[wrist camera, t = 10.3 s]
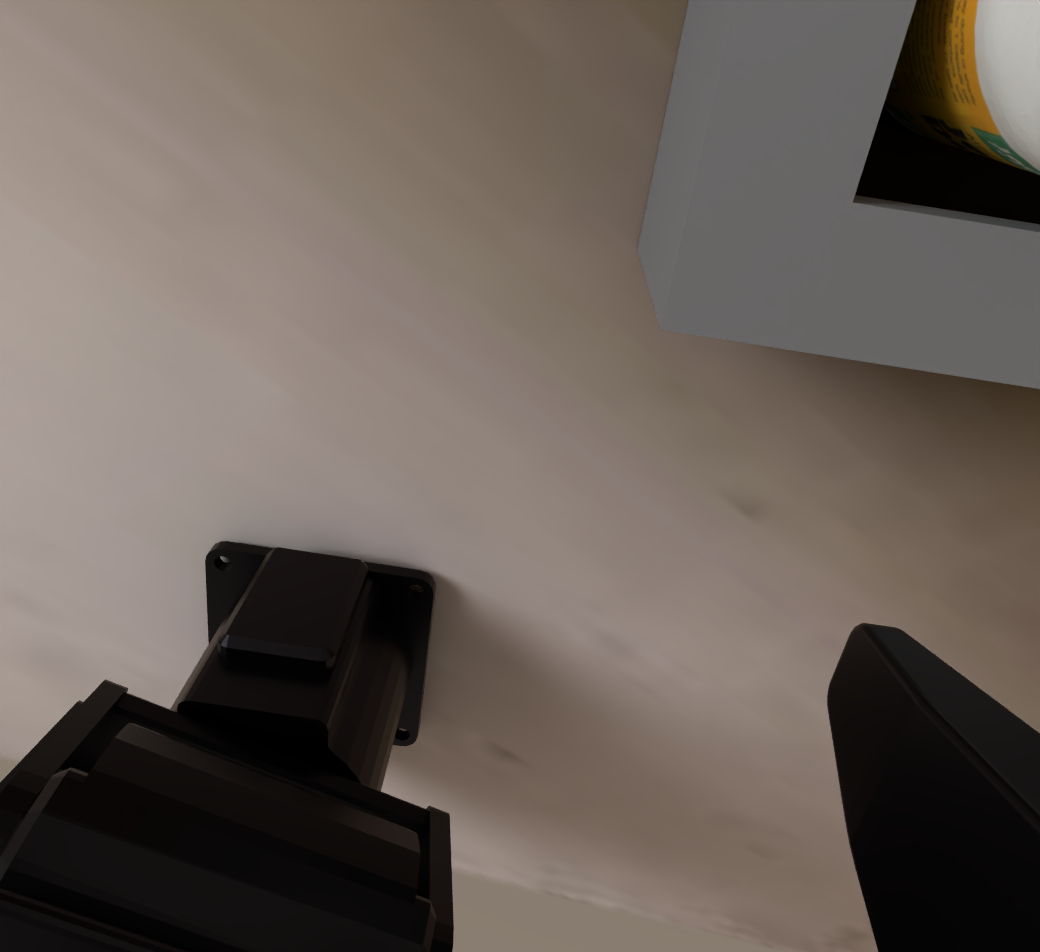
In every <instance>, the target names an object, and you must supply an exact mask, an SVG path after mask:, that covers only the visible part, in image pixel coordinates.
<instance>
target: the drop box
mask: <svg viewBox="0 0 1040 952" xmlns="http://www.w3.org/2000/svg"><path fill="white" fill-rule="evenodd" d="M916 1H917V0H689V1H688V6H687V11H686V16H685V20H684V25H683V30H682V35H681V40H680V45H679V50H678V54H677V59H676V64H675V69H674V74H673V79H672V84H671V88H670V93H669V98H668V103H667V108H666V113H665V118H664V122H663V127H662V132H661V137H660V142H659V147H658V152H657V156H656V161H655V166H654V171H653V176H652V181H651V186H650V190H649V195H648V200H647V205H646V210H645V215H644V220H643V224H642V229H641V234H640V239H639V244H638V249H637V250H638V254H639V257H640V261H641V264H642V268H643V271H644V274H645V278H646V281H647V285H648V288H649V292H650V295H651V299H652V302H653V305H654V309H655V312H656V316H657V319H658V323H659V326H660V330H663V331H670V332H676V333H683V334H689V335H695V336H702V337H708V338H715V339H721V340H728V341H734V342H741V343H747V344H753V345H760V346H766V347H773V348H779V349H786V350H792V351H798V352H805V353H811V354H818V355H824V356H831V357H837V358H843V359H850V360H856V361H863V362H869V363H876V364H882V365H888V366H895V367H901V368H908V369H914V370H921V371H927V372H933V373H940V374H946V375H953V376H959V377H966V378H972V379H979V380H985V381H991V382H998V383H1004V384H1011V385H1017V386H1024V387H1030V388H1036V389H1040V224H1034V223H1028V222H1021V221H1015V220H1009V219H1002V218H996V217H990V216H984V215H977V214H971V213H965V212H958V211H952V210H946V209H939V208H933V207H927V206H921V205H914V204H908V203H902V202H895V201H889V200H883V199H876V198H870V197H864V196H857V195H855V193H856V190H857V187H858V184H859V180H860V177H861V174H862V171H863V168H864V165H865V162H866V158H867V155H868V152H869V149H870V146H871V143H872V140H873V136H874V133H875V130H876V127H877V124H878V121H879V117H880V114H881V111H882V108H883V105H884V102H885V99H886V95H887V92H888V89H889V86H890V83H891V80H892V77H893V73H894V70H895V67H896V64H897V61H898V58H899V54H900V51H901V48H902V45H903V42H904V39H905V36H906V32H907V29H908V26H909V23H910V20H911V17H912V13H913V10H914V7H915V4H916Z"/></svg>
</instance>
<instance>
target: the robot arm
mask: <svg viewBox="0 0 1040 952" xmlns="http://www.w3.org/2000/svg"><path fill="white" fill-rule="evenodd" d="M220 556H224V557H226V558H228V559H229V560H230V561H231V563H226V562H223V561H222V560H221V559H220ZM205 565H206V589H207V613H208V637H209V645H208V647H207V648H206V650H205V652H204V653H203V655H202V657H201V658H200V660H199V662H198V664H197V665H196V667H195V669H194V670H193V672H192V674H191V675H190V677H189V679H188V680H187V682H186V684H185V685H184V687H183V689H182V690H181V692H180V694H179V695H178V697H177V699H176V700H175V702H174V704H173V705H172V707H171V709H167V708H165V707H162V706H160V705H157V704H154V703H152V702H149V701H147V700H144V699H142V698H139V697H136V696H134V695H131V694H129V693H127V691H128V688H126V687H123V686H121V685H118V684H116V683H113V682H111V681H108V680H104V681H103V682H102V683H101V684H100V685H99V686H98V688H97V689H96V690H95V691H94V692H93V693H92V694H91V695H90V696H89V697H88V698H87V699H86V700H85V701H84V702H82V701H78V702H77V703H76V704H75V705H74V706H73V707H72V708H71V709H70V710H69V711H68V712H67V713H66V714H65V715H64V716H63V717H62V718H61V720H60V721H59V722H58V723H57V724H56V725H55V726H54V727H53V728H52V729H51V730H50V731H49V732H48V733H47V734H46V735H45V736H44V737H43V738H42V739H41V740H40V741H39V743H38V744H37V745H36V746H35V747H34V748H33V749H32V750H31V751H30V752H29V753H28V754H27V755H26V756H25V757H24V758H23V759H22V760H21V761H20V762H19V763H18V765H17V766H16V767H15V768H14V769H13V770H12V771H11V772H10V773H9V774H8V775H7V776H6V777H5V778H4V779H3V780H2V781H1V782H0V952H452V949H453V930H454V929H453V928H454V925H453V900H452V899H453V897H452V869H451V841H450V815H449V813H446V812H444V811H441V810H439V809H436V808H433V807H431V806H428V807H427V809H424V808H422V807H419V806H417V805H414V804H411V803H409V802H406V801H404V800H401V799H399V798H396V797H393V796H391V795H388V794H386V793H383V792H381V789H382V785H383V781H384V777H385V773H386V769H387V765H388V761H389V757H390V753H391V749H392V745H398V746H408V745H411V744H413V743H414V742H415V741H416V739H417V736H418V732H419V727H420V719H421V710H422V702H423V693H424V684H425V676H426V667H427V658H428V650H429V641H430V632H431V624H432V615H433V606H434V598H435V589H436V585H435V581H434V579H433V577H432V576H431V575H429V574H428V573H427V572H424V571H421V570H415V569H408V568H402V567H395V566H388V565H382V564H375V563H368V562H362V561H361V560H358V559H351V558H345V557H338V556H331V555H325V554H318V553H311V552H305V551H298V550H291V549H285V548H268V547H262V546H255V545H249V544H242V543H235V542H229V541H221V542H219V543H216V544H215V545H214V546H213V547H212V549H211V550H210V551H209V553H208V554H207V556H206V560H205ZM413 585H418V586H420V587H422V588H423V589H424V591H422V592H417V591H414V590H413V589H412V588H411V586H413ZM827 706H828V713H829V720H830V726H831V733H832V739H833V746H834V752H835V758H836V765H837V771H838V778H839V784H840V791H841V797H842V803H843V810H844V816H845V822H846V828H847V833H848V838H849V844H850V848H851V852H852V856H853V860H854V864H855V868H856V872H857V875H858V879H859V883H860V886H861V890H862V894H863V897H864V901H865V905H866V908H867V912H868V916H869V919H870V923H871V927H872V930H873V934H874V938H875V941H876V945H877V948H878V952H1040V733H1038V732H1037V731H1036V730H1034V729H1033V728H1032V727H1030V726H1029V725H1028V724H1026V723H1025V722H1024V721H1022V720H1021V719H1020V718H1018V717H1017V716H1016V715H1014V714H1013V713H1012V712H1010V711H1009V710H1008V709H1006V708H1005V707H1004V706H1002V705H1001V704H1000V703H998V702H997V701H996V700H994V699H993V698H992V697H990V696H989V695H988V694H986V693H985V692H984V691H982V690H981V689H980V688H978V687H977V686H976V685H974V684H973V683H972V682H970V681H969V680H968V679H966V678H965V677H964V676H962V675H961V674H960V673H958V672H957V671H956V670H954V669H953V668H952V667H950V666H949V665H948V664H946V663H945V662H944V661H942V660H941V659H940V658H938V657H937V656H936V655H934V654H933V653H932V652H930V651H929V650H928V649H926V648H925V647H924V646H922V645H921V644H920V643H918V642H917V641H916V640H914V639H913V638H912V637H910V636H909V635H908V634H906V633H905V632H904V631H902V630H901V629H898V628H895V627H888V626H881V625H874V624H867V623H862V624H860V625H857V626H856V627H855V628H854V629H853V630H852V632H851V633H850V635H849V638H848V640H847V642H846V645H845V647H844V650H843V652H842V655H841V657H840V659H839V662H838V664H837V667H836V669H835V672H834V674H833V676H832V679H831V681H830V684H829V689H828V695H827ZM398 728H403V729H406V730H407V731H402V730H399V729H398Z"/></svg>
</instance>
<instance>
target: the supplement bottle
mask: <svg viewBox="0 0 1040 952" xmlns="http://www.w3.org/2000/svg"><path fill="white" fill-rule="evenodd" d="M883 107H884V108H885V109H886V110H887V111H888V112H889V113H890V114H891V115H892V116H893V117H894V118H895V119H896V120H898V121H899V122H900V123H901V124H903V125H904V126H905V127H907V128H908V129H910V130H911V131H913V132H915V133H917V134H919V135H921V136H924V137H927V138H929V139H932V140H935V141H938V142H941V143H945V144H948V145H951V146H954V147H957V148H960V149H963V150H966V151H969V152H972V153H976V154H978V155H980V156H984V157H987V158H990V159H993V160H996V161H1000V162H1003V163H1006V164H1008V165H1011V166H1014V167H1017V168H1020V169H1023V170H1026V171H1029V172H1032V173H1035V174H1038V175H1040V0H917V1H916V4H915V7H914V10H913V13H912V17H911V20H910V23H909V26H908V29H907V32H906V36H905V39H904V42H903V45H902V48H901V51H900V54H899V58H898V61H897V64H896V67H895V70H894V73H893V77H892V80H891V83H890V86H889V89H888V92H887V95H886V99H885V102H884V105H883Z"/></svg>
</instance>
